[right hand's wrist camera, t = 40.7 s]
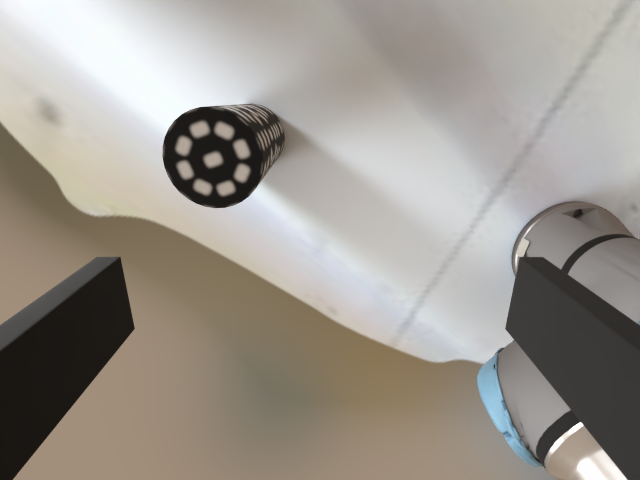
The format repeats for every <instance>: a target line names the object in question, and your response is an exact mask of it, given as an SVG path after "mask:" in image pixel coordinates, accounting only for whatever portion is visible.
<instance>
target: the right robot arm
mask: <svg viewBox="0 0 640 480" xmlns="http://www.w3.org/2000/svg"><path fill="white" fill-rule="evenodd" d="M512 268H513V272H514V275H515V277H516V278H515V283H514V288H513V293H512V298H511V303H510V308H509V313H508V318H507V323H506V328H505V329H506V330H507V331H508V333H509V334H510V335H511V336H512V338H513V339H514V341H513V342H511V343H510V344H509V345H507V346H506V347H505V348H501V349H499V350H498V351H497V352H496V354H495V355H494V356H493V357H492V358H491V359H490V360H489V361H488V362H486V363H485V364H484V365H483V366H482V367H481V368H480V370H479V374H478V377H477V383H478V389H479V392H480V395H481V398H482V400H483V403H484V405H485V407H486V409H487V411H488V413H489V415H490V417H491V419H492V420H493V422H494V424H495V425H496V427H497V429H498V430H499V431H500V433H502V434H503V435H504V436H505V438H506V440H507V442H508V444H509V445H510V447H511V448H512V449H513V450H514V451H515V452H516V454H517V455H518V456H519V457H520V458H521V459H523V460H524V461H525V462H526V463H528V464H530V465H532V466H535V467H537V466H544V468H545V469H546V471H547V472H548V473H549V475H550V476H551V477H553V478H555V479H558V480H640V240H639V239H637V238H635V237H634V236H633V235H632V234H631V233H630V232H629V231H628V230H627V228H626V227H625V226H624V225H623V224H622V223H621V222H620V221H619V219H618V218H617V217H615V216H614V215H613V214H612V213H610V212H609V211H607V210H605V209H603V208H601V207H599V206H596V205H593V204H590V203H586V202H566V203H561V204H558V205H555V206H552V207H550V208H548V209H546V210H544V211H542V212H541V213H539V214H538V215H536V216H535V217H534V218H533V219H532V220H531V221H530V222H529V223H528V224H527V225H526V226H525V227H524V228H523V230H522V231H521V232H520V234H519V236H518V238H517V240H516V242H515V244H514V248H513V252H512ZM133 330H134V323H133V318H132V313H131V308H130V303H129V298H128V293H127V288H126V283H125V278H124V273H123V268H122V263H121V258H120V257H96V258H95V259H93V260H92V261H91V262H89V263H88V264H86V265H85V266H83V267H82V268H81V269H79V270H78V271H76V272H75V273H74V274H72V275H71V276H69V277H68V278H66V279H65V280H64V281H62V282H61V283H59V284H58V285H57V286H55V287H54V288H52V289H51V290H49V291H48V292H47V293H45V294H44V295H42V296H41V297H40V298H38V299H37V300H35V301H34V302H32V303H31V304H30V305H28V306H27V307H25V308H24V309H23V310H21V311H20V312H18V313H17V314H16V315H14V316H13V317H11V318H10V319H8V320H7V321H6V322H4V323H3V324H1V325H0V480H13V478H14V477H15V476H16V475H17V473H18V472H19V471H20V470H21V469H22V467H23V466H24V465H25V464H26V462H27V461H28V460H29V459H30V457H31V456H32V455H33V454H34V453H35V451H36V450H37V449H38V448H39V446H40V445H41V444H42V443H43V441H44V440H45V439H46V438H47V436H48V435H49V434H50V433H51V432H52V430H53V429H54V428H55V427H56V425H57V424H58V423H59V422H60V420H61V419H62V418H63V417H64V415H65V414H66V413H67V412H68V410H69V409H70V408H71V407H72V406H73V404H74V403H75V402H76V401H77V399H78V398H79V397H80V396H81V394H82V393H83V392H84V391H85V389H86V388H87V387H88V386H89V384H90V383H91V382H92V381H93V380H94V378H95V377H96V376H97V375H98V373H99V372H100V371H101V370H102V368H103V367H104V366H105V365H106V364H107V362H108V361H109V360H110V359H111V357H112V356H113V355H114V354H115V352H116V351H117V350H118V349H119V347H120V346H121V345H122V344H123V342H124V341H125V340H126V339H127V338H128V336H129V335H130V334H131V333H132V331H133Z"/></svg>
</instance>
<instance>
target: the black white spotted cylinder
mask: <svg viewBox="0 0 640 480" xmlns="http://www.w3.org/2000/svg"><path fill="white" fill-rule="evenodd" d="M283 146H284V131H283V127H282V125H281V123H280V121H279V119H278V118H277V116H276V115H275V114H274V113H273V112H272V111H270V110H269V109H267V108H266V107H263V106H261V105H256V104H242V105H226V106H210V107H199V108H195V109H192V110H189V111H187V112H186V113H184V114H182V115H181V116H180V117H178V118H177V119H176V120H175V121H174V122H173V124H172V125H171V126H170V128H169V129H168V132H167V134H166V136H165V139H164V144H163V161H164V166H165V169H166V172H167V174H168V177H169V178H170V180H171V182H172V183H173V185H174V186H175V187H176V188H177V189H178V191H179V192H180V193H181V194H183V195H184V196H185V197H186V198H188V199H189V200H191V201H193V202H195V203H197V204H200V205H202V206H205V207H212V208H225V207H229V206H233V205H236V204H238V203H240V202H242V201H243V200H245V199H246V198H247V197H249V196H250V194H251V193H252V192H253V191H254V190H255V189H256V187H257V186H258V184H259V183H260V182H261V180H262V179H263V178H264V176H265V175H266V173H267V172H268V171H269V169H270V168H271V166H272V165H273V164H274V162H275V161H276V160H277V158H278V157H279V155H280V153H281V152H282V149H283Z"/></svg>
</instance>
